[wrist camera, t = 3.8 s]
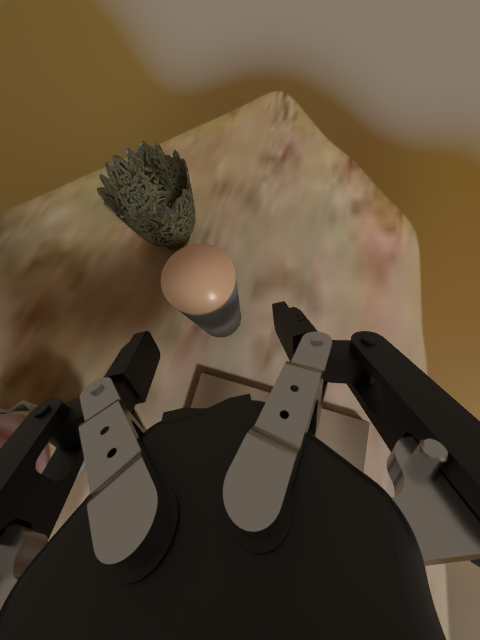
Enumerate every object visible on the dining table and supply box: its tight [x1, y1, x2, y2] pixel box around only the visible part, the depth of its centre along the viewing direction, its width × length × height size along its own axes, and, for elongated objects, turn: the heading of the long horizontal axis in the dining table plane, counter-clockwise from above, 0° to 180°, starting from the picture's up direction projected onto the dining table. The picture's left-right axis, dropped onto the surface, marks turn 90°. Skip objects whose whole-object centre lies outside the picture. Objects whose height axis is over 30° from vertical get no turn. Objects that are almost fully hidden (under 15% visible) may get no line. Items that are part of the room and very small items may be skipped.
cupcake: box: [0, 400, 86, 478], centre depth 14 cm, size 9×9×10 cm
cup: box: [97, 141, 195, 249], centre depth 19 cm, size 8×7×8 cm
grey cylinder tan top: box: [161, 244, 241, 337], centre depth 16 cm, size 4×4×10 cm
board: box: [191, 372, 370, 472], centre depth 17 cm, size 16×16×1 cm
